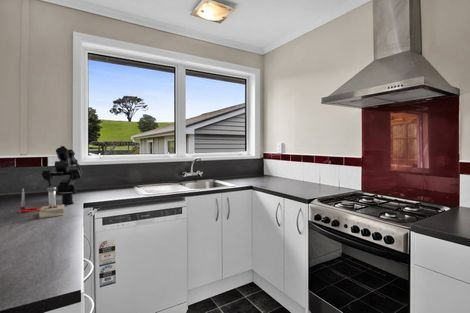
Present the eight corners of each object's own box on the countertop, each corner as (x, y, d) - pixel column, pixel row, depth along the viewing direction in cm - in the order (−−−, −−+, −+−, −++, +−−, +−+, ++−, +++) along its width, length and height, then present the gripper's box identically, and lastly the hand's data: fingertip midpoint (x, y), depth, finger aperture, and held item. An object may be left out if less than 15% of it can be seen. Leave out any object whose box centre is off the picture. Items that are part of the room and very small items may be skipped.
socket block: (42, 213, 137) (41, 206, 137) (64, 210, 143) (64, 204, 142) (39, 218, 127) (39, 211, 127) (63, 215, 132) (63, 208, 132)
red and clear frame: (43, 209, 149) (24, 209, 146) (44, 187, 149) (25, 187, 146) (37, 212, 141) (17, 213, 138) (38, 189, 141) (17, 189, 138)
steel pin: (47, 214, 135) (46, 187, 134) (56, 212, 138) (55, 186, 137) (49, 215, 132) (48, 188, 132) (58, 213, 135) (57, 187, 135)
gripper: (42, 156, 147) (35, 177, 137) (79, 155, 153) (75, 175, 143) (47, 169, 155) (41, 189, 145) (82, 168, 161) (78, 187, 151)
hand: (59, 185), depth 146 cm, fingers open, 9 cm apart
